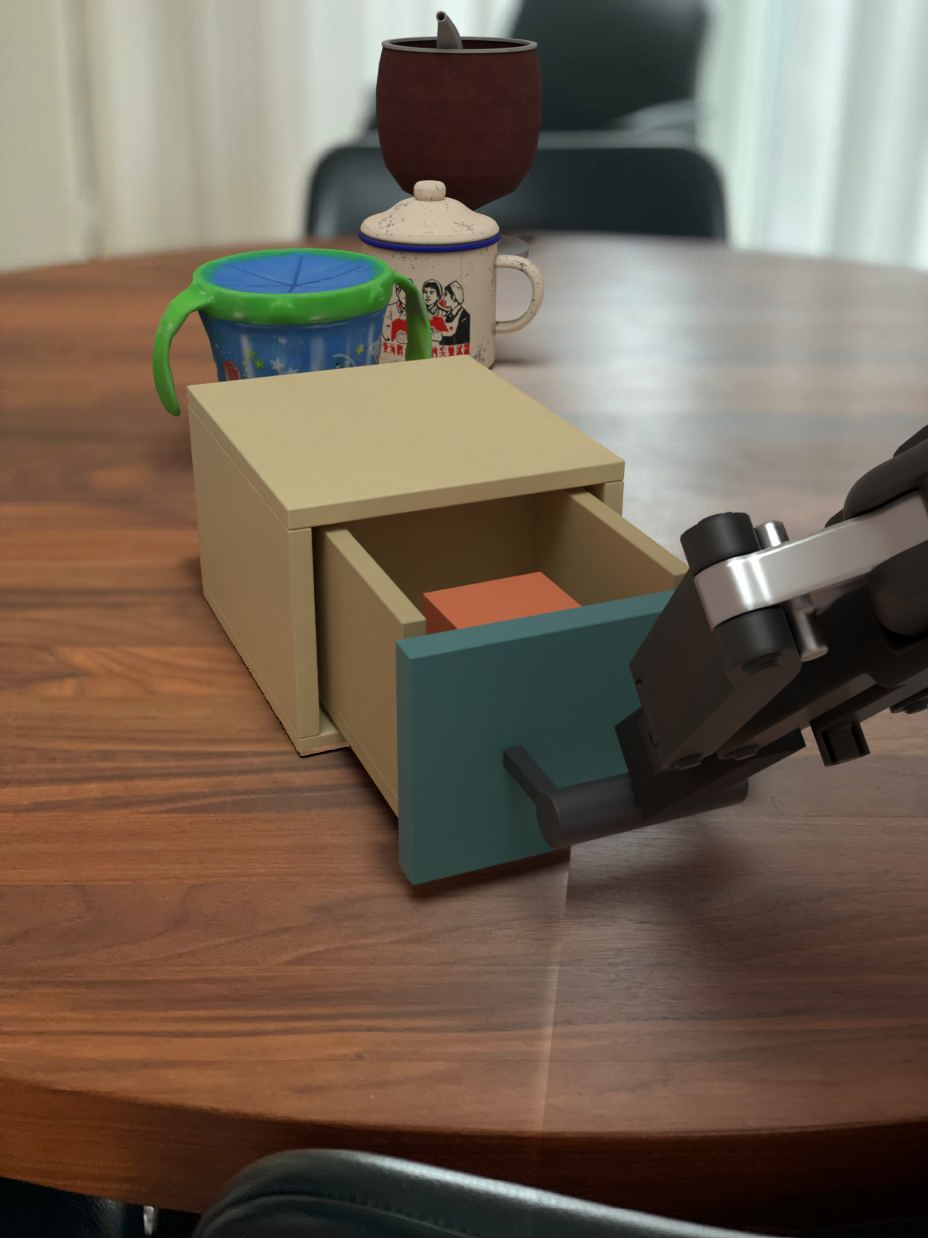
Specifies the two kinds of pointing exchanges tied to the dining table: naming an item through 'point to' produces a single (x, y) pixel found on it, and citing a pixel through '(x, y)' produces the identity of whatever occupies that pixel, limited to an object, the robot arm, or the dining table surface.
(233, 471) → the cabinet
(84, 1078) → the dining table surface
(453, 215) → the teacup with lid
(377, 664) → the drawer
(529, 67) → the mate gourd
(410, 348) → the snack cup
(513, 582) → the block
